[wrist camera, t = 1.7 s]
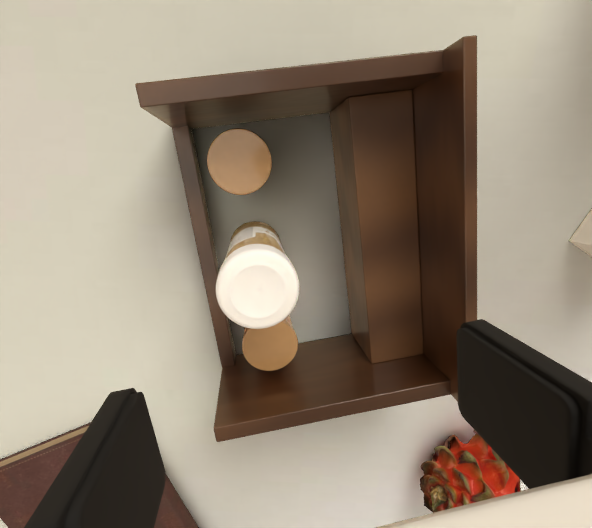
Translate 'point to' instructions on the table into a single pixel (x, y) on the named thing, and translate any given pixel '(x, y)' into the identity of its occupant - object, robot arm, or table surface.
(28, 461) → the notebook
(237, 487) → the table surface
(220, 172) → the sage jar
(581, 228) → the light grey cube
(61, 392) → the table surface
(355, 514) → the table surface
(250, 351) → the terracotta jar
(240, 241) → the sprinkles bottle
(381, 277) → the spice rack
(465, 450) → the dragon fruit
